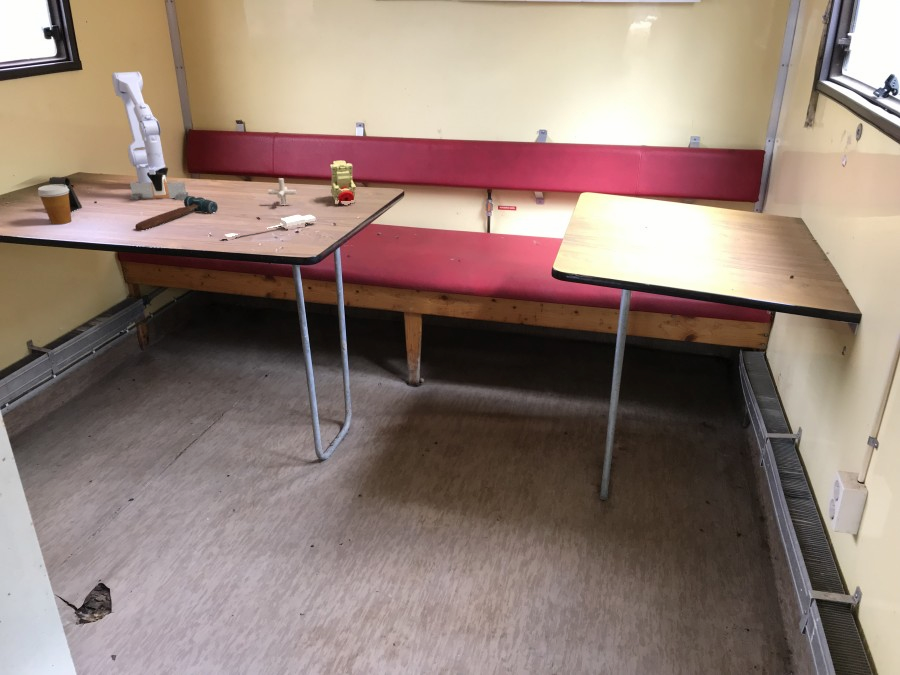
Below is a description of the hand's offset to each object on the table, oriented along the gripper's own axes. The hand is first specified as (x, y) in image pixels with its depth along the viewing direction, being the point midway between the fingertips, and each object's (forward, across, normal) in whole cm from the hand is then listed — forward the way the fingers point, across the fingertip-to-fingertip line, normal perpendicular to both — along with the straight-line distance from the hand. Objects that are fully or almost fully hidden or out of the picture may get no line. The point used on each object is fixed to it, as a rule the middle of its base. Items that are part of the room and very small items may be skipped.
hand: (161, 189), depth 263 cm
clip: (+2, 0, 0) cm, 2 cm away
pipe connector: (+4, +15, +48) cm, 50 cm away
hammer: (+4, +30, +11) cm, 32 cm away
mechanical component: (+4, +14, +70) cm, 72 cm away
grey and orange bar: (+3, 0, -1) cm, 4 cm away
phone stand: (+4, +15, -30) cm, 34 cm away
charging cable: (+4, +47, +47) cm, 66 cm away
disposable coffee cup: (+4, +29, -26) cm, 40 cm away
